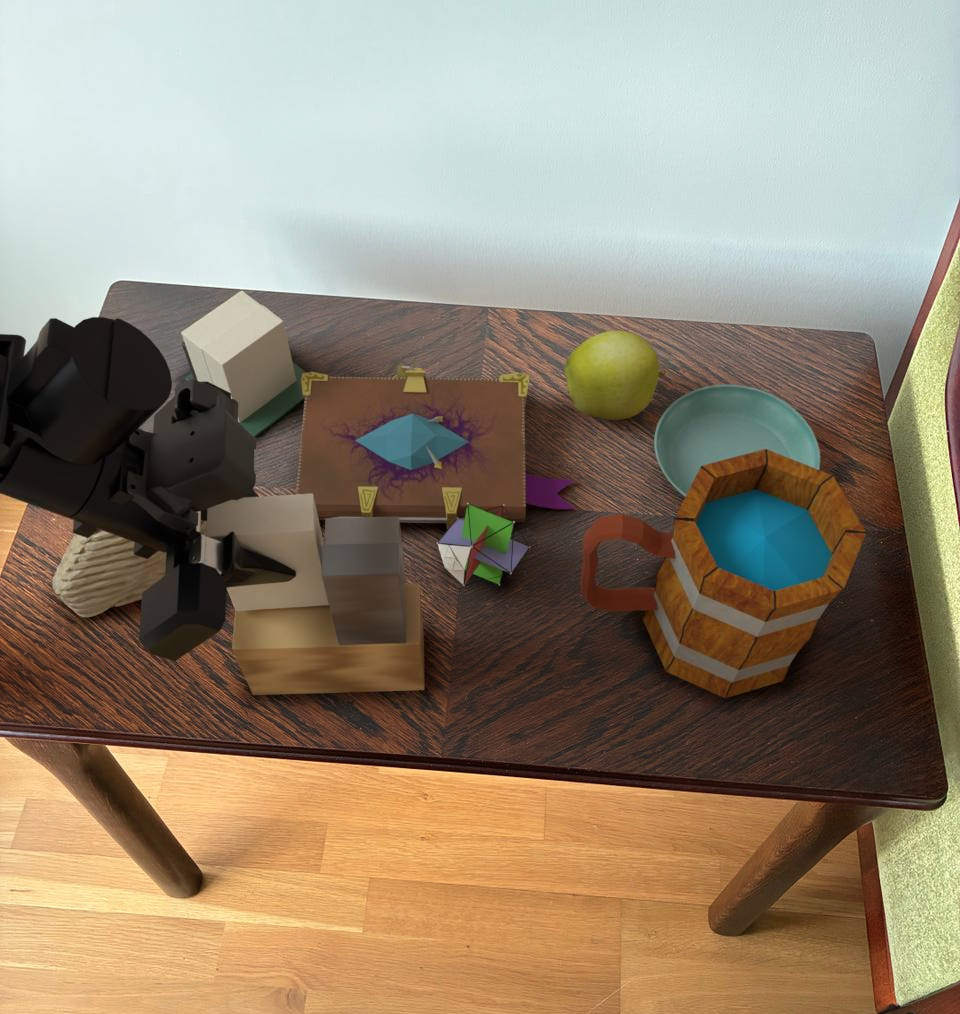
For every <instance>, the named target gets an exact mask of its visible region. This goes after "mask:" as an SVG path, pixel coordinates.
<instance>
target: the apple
mask: <svg viewBox="0 0 960 1014" xmlns="http://www.w3.org/2000/svg"><path fill="white" fill-rule="evenodd" d="M563 369H564V370H563V371H564V377H565V382H566V386H567V391H568V394H569V397H570V398H571V399H570V400H572V402H573V405H574V407H575V409H576V410H578V411H579V412H581V413H582V414H584V415H587V416H589V417H593V418H597V419H601V420H606V421H607V420H608V421H618V420H619V421H621V420H626V419H630V418H633V417H635V416H637V415H639V414H640V413H641V412H643V411H644V410H645V409H646V408H647V407H648V406H649V405H650V404H651V402H652V399H653V397H654V394H655V391H656V388H657V386H658V382H659V378H661V379H662V378H665V377H666V371H665V370H661V371H660V363H659V357H658V355H657V353H656V351H655V349H654V348H653V347H652V346H651V344H650V343H648V342H647V340H645V338H643V337H641V336H640V335H637V334H635V333H632V332H630V331H625V330H607V331H604V332H601V333H598V334H596V335H593V336H591V337H589V338H588V339H585V340H584V341H583V342H582V343H580V344H579V345H578V346H577V347H576V348H575V349H574V350H572V352H571V353H570V354H569V356H568V357H567V359H566V361H565V364H564V368H563Z"/></svg>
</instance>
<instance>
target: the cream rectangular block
mask: <svg viewBox="0 0 960 1014" xmlns="http://www.w3.org/2000/svg"><path fill="white" fill-rule="evenodd" d="M320 523H321V522H320V520H319V519H318V514H317V509H316V505H315V500H314V495H313V494H297V495H296V494H282V495H281V494H280V495H266V496H260V497H245V498H241V499H239V500H230V501H227V502H224V503H221V504H219V505H216V506H213V507H210V508H208V509H207V529H206V536H208V537H210V538H213V539H215V540H218V541H220V540H221V539H223V538H224V537H225V536H226V535H228V534H229V533H230V532H232V531H233V532H234V533H235V535H236V537H237V539H238V542H239V544H240V546H241V547H243V548H245V549H247V550H250V551H252V552H255V553H258V554H260V555H263V556H265V557H268V558H270V559H273V560H275V561H278V562H280V563H282V564H284V565H286V566H288V567H290V568H291V569H293V570H295V571H296V577H295V578H293V579H292V580H290V581H288V582H280V583H269V584H258V585H247V586H238V587H229V588H226V592H228V595H229V598H230V599H231V600H230V601H231V603H232V606H233V608H234V612H235V611H246V610H261V609H276V608H292V607H307V606H323V605H329V604H328V600H327V596H326V592H325V588H324V584H323V580H322V576H321V573H322V547H323V545H324V538H323V533H322V527H321V524H320Z"/></svg>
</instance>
